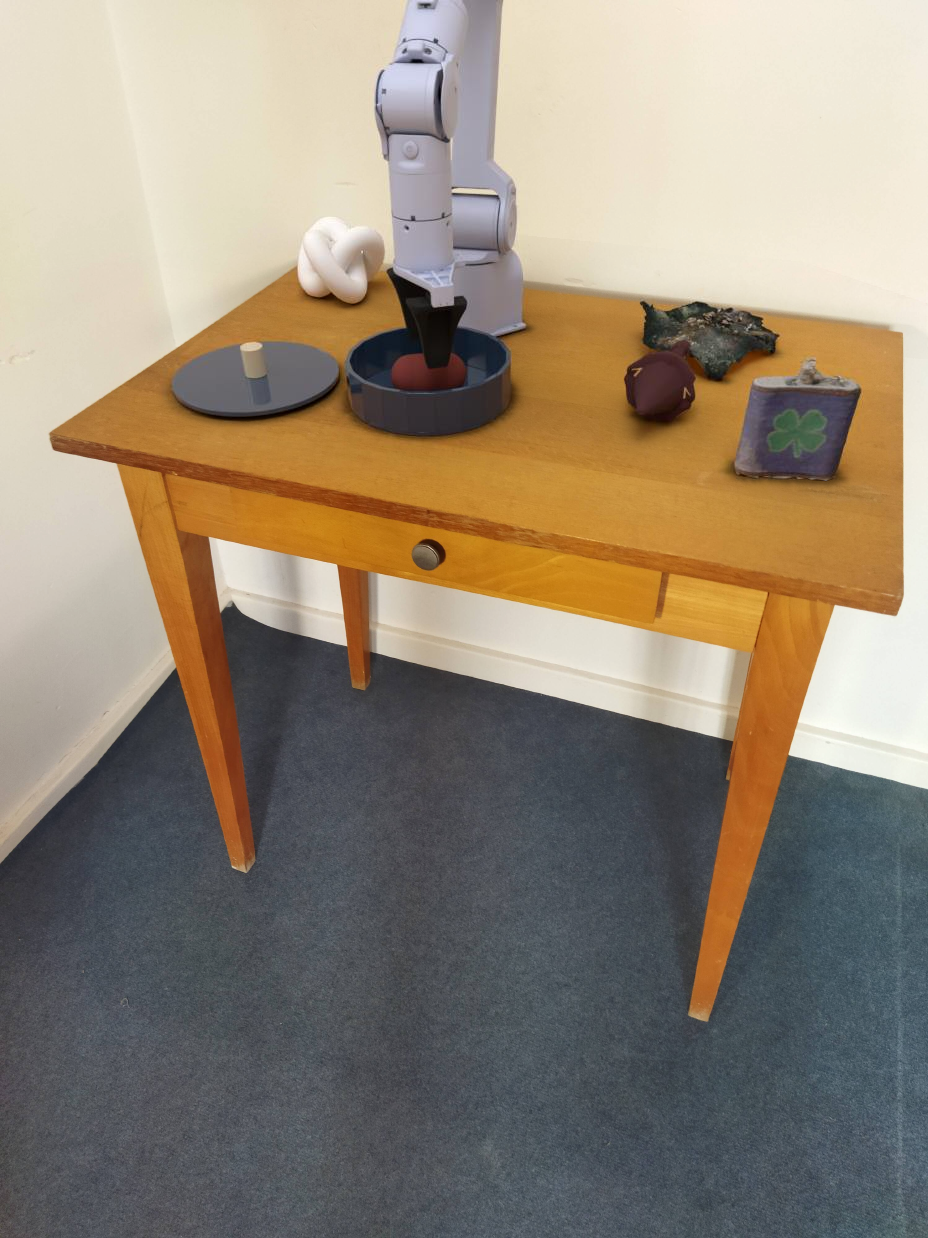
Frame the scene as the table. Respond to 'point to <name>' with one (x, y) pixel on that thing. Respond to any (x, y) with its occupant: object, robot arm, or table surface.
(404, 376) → the sweet potato
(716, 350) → the decorative rock
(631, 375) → the dark maroon rounded piece
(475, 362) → the dark blue bowl
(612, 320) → the table surface
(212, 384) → the lid
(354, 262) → the white twisted tube
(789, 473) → the flask
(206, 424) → the table surface
